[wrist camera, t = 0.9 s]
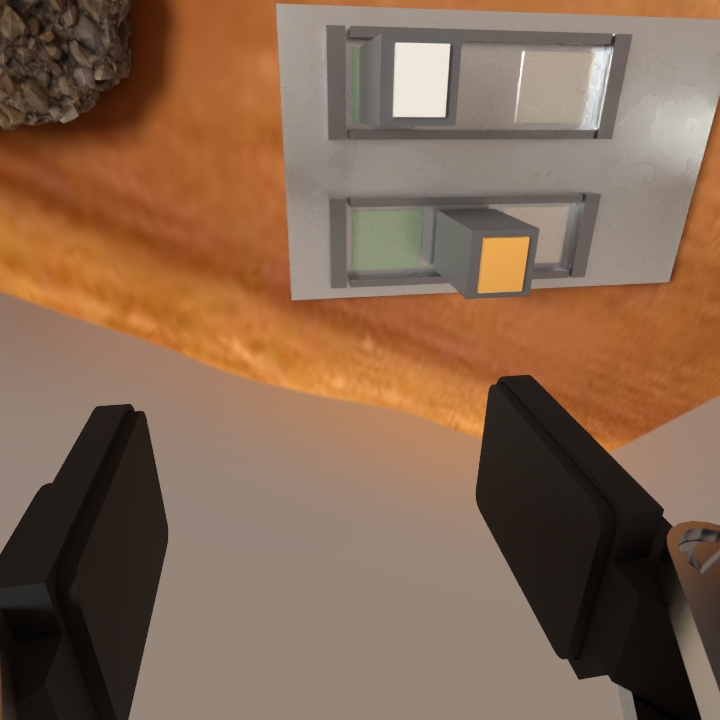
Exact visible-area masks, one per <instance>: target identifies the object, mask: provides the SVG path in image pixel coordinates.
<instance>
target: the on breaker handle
mask: <svg viewBox="0 0 720 720" xmlns="http://www.w3.org/2000/svg"><path fill="white" fill-rule="evenodd" d="M462 36H463V35H439V34H404V33H380V34H379V35H377V36H376V37H374V38H373V39H371V40H370V41H368V42H366V43H365V44H363V45H362V46H360V47H359V123H366V124H372V125H379V126H456V113H457V100H458V87H459V74H460V61H461V48H462Z"/></svg>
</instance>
